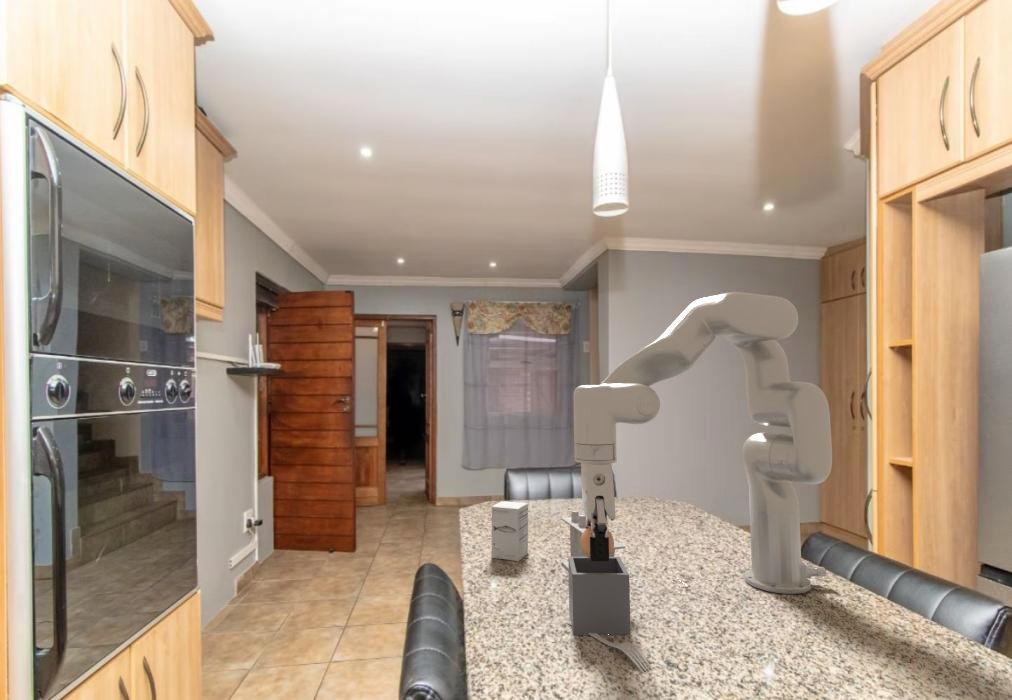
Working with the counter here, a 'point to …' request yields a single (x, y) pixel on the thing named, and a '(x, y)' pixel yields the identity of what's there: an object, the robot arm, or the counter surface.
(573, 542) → the test tube rack
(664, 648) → the counter surface
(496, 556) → the supplement box
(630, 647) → the fork
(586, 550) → the ball
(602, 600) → the grey open square box
